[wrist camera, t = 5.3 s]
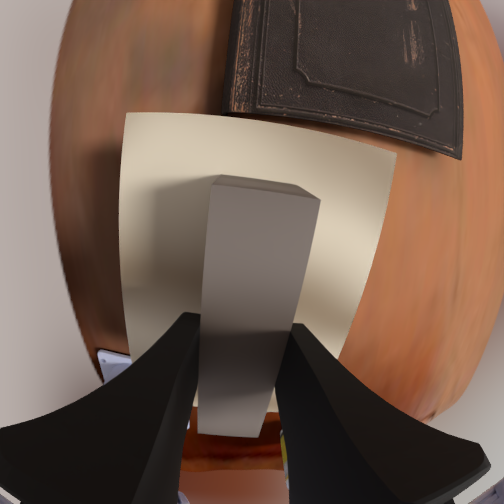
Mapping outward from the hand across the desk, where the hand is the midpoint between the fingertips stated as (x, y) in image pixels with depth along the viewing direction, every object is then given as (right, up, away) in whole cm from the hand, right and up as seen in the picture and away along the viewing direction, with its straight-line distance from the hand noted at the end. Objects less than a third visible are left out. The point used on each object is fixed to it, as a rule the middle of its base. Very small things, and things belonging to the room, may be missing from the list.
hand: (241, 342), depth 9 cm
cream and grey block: (0, +1, +3) cm, 4 cm away
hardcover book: (+7, +21, +3) cm, 23 cm away
